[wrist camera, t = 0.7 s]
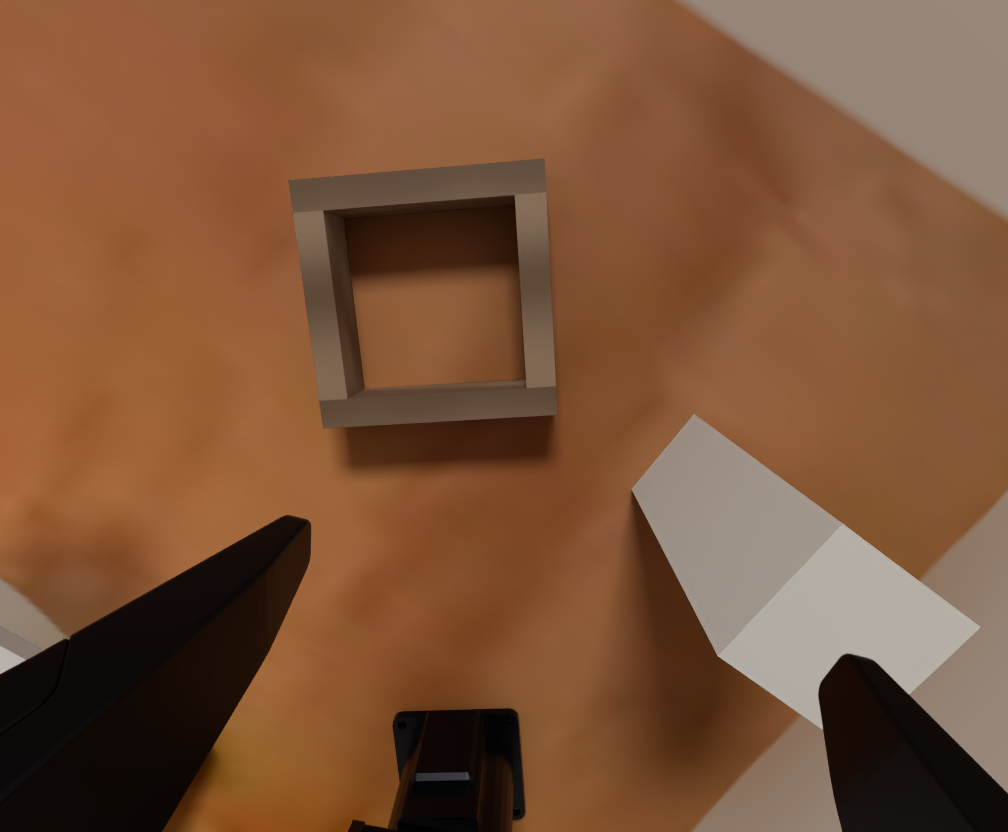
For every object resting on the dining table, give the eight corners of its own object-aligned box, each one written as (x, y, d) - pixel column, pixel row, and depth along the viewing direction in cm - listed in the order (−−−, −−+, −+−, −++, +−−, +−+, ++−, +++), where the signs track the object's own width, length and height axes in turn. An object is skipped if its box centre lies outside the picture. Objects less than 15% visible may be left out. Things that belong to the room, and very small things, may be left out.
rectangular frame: (554, 403, 26) (557, 414, 23) (342, 416, 26) (323, 428, 24) (542, 172, 24) (544, 158, 21) (312, 191, 24) (288, 180, 22)
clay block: (705, 542, 27) (851, 749, 15) (631, 489, 27) (717, 656, 14) (769, 470, 26) (980, 627, 14) (694, 413, 26) (842, 523, 13)
